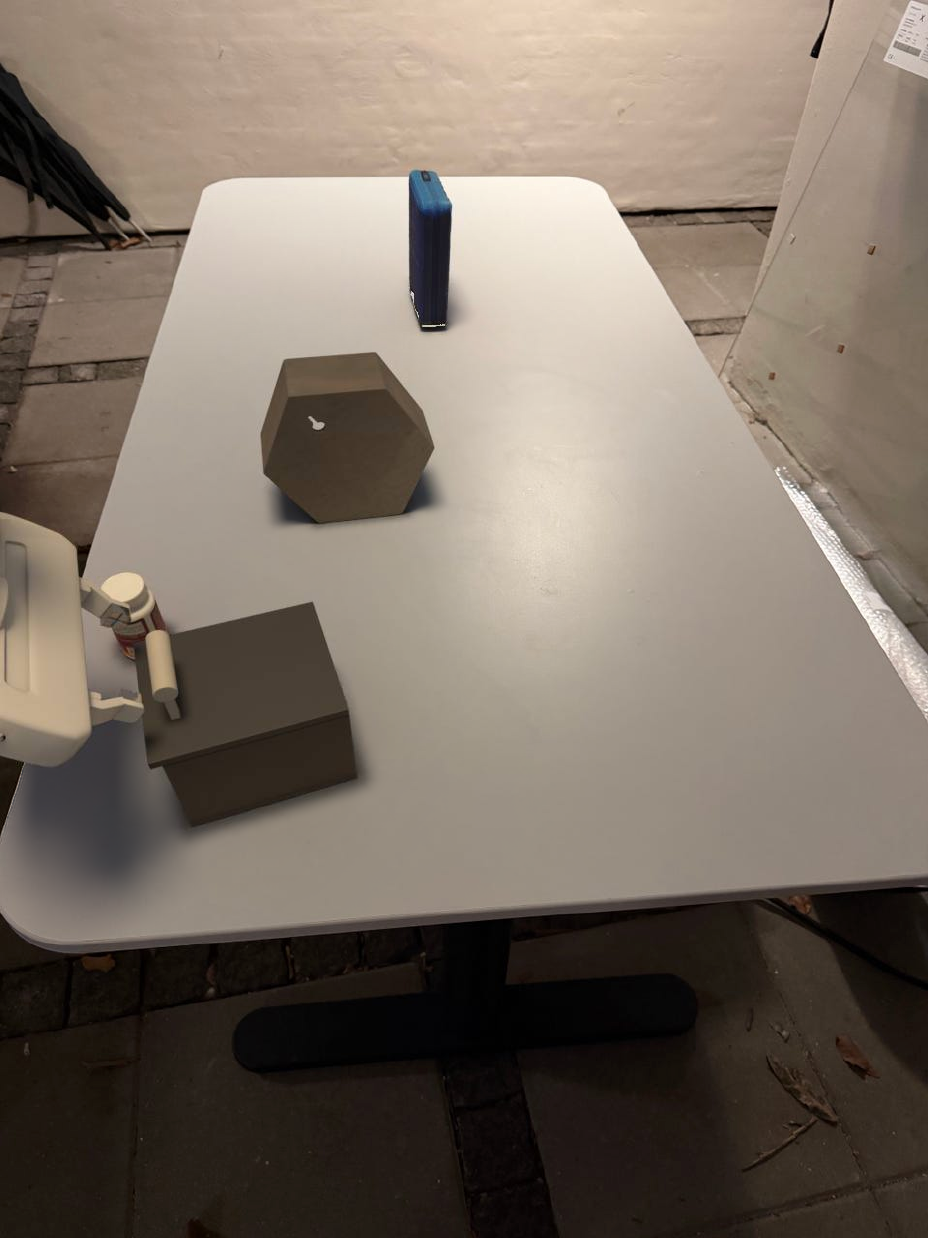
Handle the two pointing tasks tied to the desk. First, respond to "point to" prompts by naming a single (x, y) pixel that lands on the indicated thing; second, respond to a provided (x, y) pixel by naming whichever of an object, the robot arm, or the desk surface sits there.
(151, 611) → the pill bottle
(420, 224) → the blue hard case
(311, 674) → the brown box lid
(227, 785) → the dark wooden chest
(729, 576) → the desk surface
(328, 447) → the brown hexagonal block
